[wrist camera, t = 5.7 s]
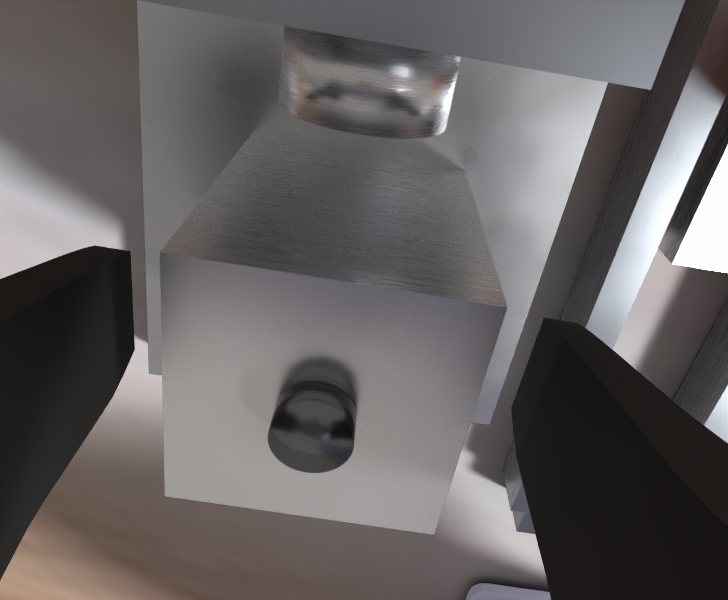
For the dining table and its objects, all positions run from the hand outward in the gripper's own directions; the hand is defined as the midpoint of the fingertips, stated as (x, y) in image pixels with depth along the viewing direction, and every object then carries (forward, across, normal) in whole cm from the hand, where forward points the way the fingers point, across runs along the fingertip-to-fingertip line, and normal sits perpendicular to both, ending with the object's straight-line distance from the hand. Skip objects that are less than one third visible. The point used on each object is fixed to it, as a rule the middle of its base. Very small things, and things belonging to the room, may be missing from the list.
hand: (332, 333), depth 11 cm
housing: (+3, 0, 0) cm, 3 cm away
